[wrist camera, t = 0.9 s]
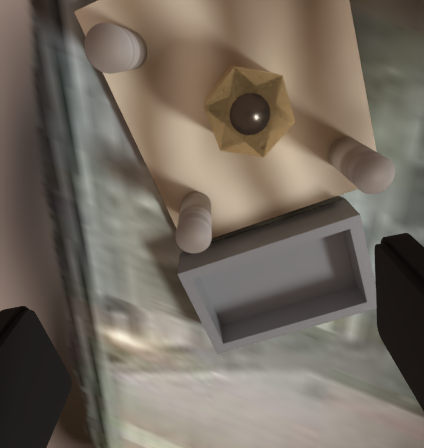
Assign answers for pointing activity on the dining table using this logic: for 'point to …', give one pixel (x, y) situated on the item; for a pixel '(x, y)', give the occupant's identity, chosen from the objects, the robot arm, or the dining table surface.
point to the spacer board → (206, 79)
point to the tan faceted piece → (248, 110)
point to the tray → (281, 277)
